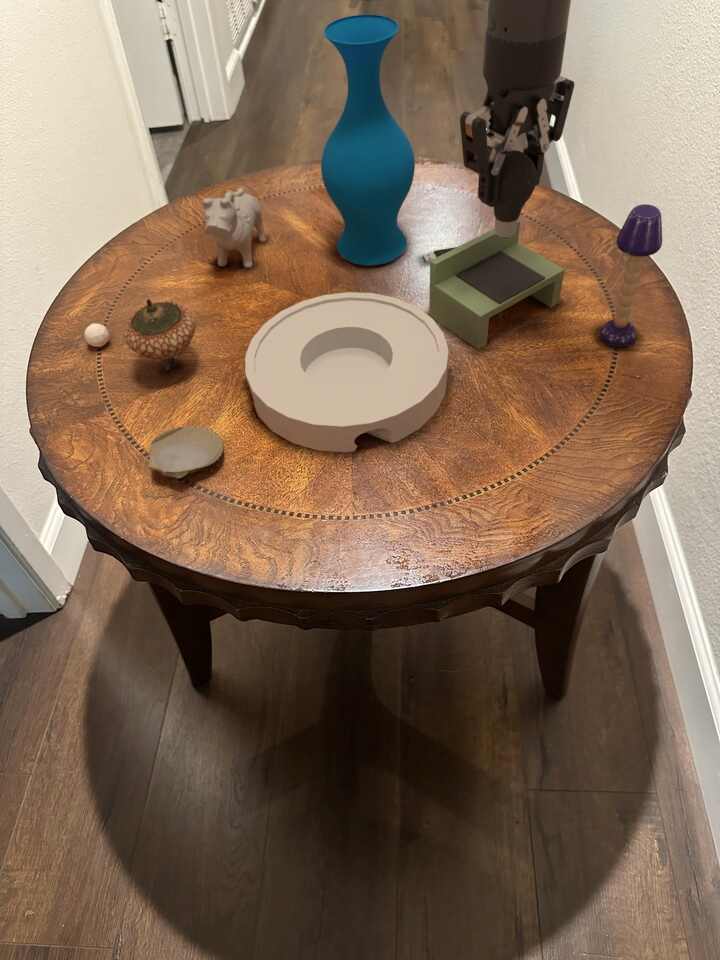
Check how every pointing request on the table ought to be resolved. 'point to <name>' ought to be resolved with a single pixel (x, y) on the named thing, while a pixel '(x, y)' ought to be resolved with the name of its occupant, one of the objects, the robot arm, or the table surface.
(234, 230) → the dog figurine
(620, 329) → the toy lamp
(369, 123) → the vase
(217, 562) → the table surface
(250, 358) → the beige round base
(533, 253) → the bench
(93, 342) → the polyhedron
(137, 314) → the acorn
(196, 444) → the seashell
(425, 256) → the usb flash drive
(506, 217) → the light bulb
